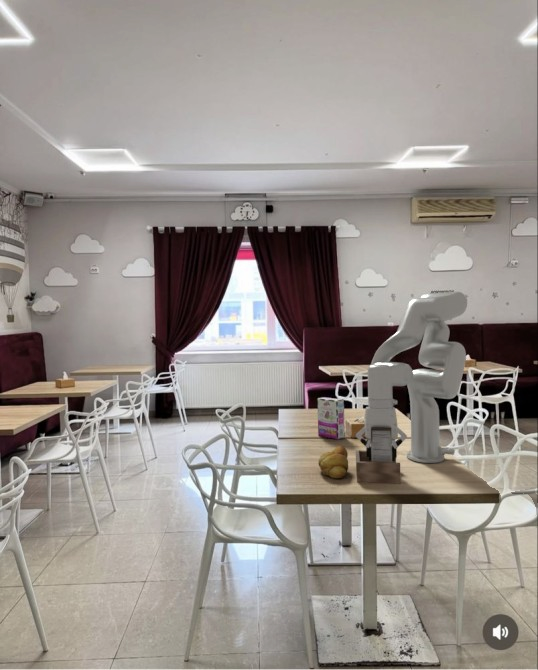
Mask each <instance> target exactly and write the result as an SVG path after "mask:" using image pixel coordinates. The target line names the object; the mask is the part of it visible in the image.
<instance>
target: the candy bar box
mask: <svg viewBox="0 0 538 670" xmlns="http://www.w3.org/2000/svg"><path fill="white" fill-rule="evenodd" d="M317 422H318V423H317V430H318V431H317V435H318V436H319V435H320V436H319V437H323V436H324V438H327V437H328V439H334V440H338V439H339V440H341V439H344V438H345V437H346V435H345V434H346V433H345V432H346V431H345V399H344V398H343V399H341V398H332V397H326V396H324V397H323V396H322V397H318V398H317Z"/></svg>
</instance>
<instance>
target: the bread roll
mask: <svg viewBox="0 0 538 670" xmlns="http://www.w3.org/2000/svg"><path fill="white" fill-rule="evenodd" d="M348 456H349V453H348V450H347V448H345V446H342V445H340V446H336V447H335V448H333V449H331V451H327V452H324V453H322V454H321V455H320V456H319V460H318V463H317V464H318V466H319V468H320V470H321V472H322V473H321V474H323V475H326V476H328V477H329V476H330V478H332V479H342V478H344V477H346V474H347V472H348V471H349V460H348Z"/></svg>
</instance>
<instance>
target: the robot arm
mask: <svg viewBox="0 0 538 670" xmlns="http://www.w3.org/2000/svg"><path fill="white" fill-rule="evenodd" d="M467 307H468V299H467V296H466V295H465V294H464V293H463V292H461V291H445V292H430V293H426V294H423V295H421V297H417V298H413V299H411V300H410V301H409V302H408V304H407V306H406V309H405V311H404V313H403V316H402V318H401V321H400V323H399V326H398V327H397V330H396V332H395V333H394V334H393V335H391V336H390V337H389V338H388V339H386V341H384V342H383V343H382V344H381V345H380V346H379V347H378V349H377V350H375V353H374V356H373V358H372V360H371V363H370V365H369V366H368V368H367V405H368V406H366V407H365V412H364V423H363V425H364V426H363V427H362V428H361V429H360V430H358V432H356V434H355V438H357V439H358V440H359V441H360V443H361V444H363V446H364V447H365V448H366V449H365V450H366V455H367V457H369V461H371V427H384V428H391V429H392V461H395V458H396V459H397V457H398V456H397V452H398V451H397V449H398V447H400V445H401V444H403V442H404V441H405V440H406V439H407V438H408V436H407V434H406V433H405V432H404V431H403V430H402V429H400V428H399V427H398V419H397V412H396V408H395V407H394V406H395V405H398V400H397V399H394V398H393V397H394V396H393V387H404V386H407V389H408V390H407V391H408V395H409V401H410V402H409V405H410V448H411V450H410V451H408V452H406V457H407V458H408V459H409V460H410V461H414V462H416V463H423V464H437V463H441V462H443V461H444V460H445V455H455V450H454V449H455V448H449V447H442V446H441V444H440V409H439V405H438V402H437V401H436V400H435V398H437V399H444V400H452V399H454V398H455V397H456V396H457V395H458V393H459V390H460V387H461V382H462V380H463V379H462V378H463V374H464V370H465V367H466V361H467V353H466V349H465V347H464V345H463V344H462V343H460V342H458V341H449V338H450V328H449V326H448V324H447V323H446V322H448V321H450V320H452V319H456V318H458V317H460V316H462V315H463V314H464V313H465V312H466V310H467ZM420 343H421V344H420ZM418 345H420V349H419V353H418V362H419V364H420V365H422V366H423V367H426V368H417V369H412V367H411V366H410V364H407V363H405V362H399V361H398V362H397V361H395V362H394V361H391V360H392V359H393V358H394V357H396V355H398V354H400V353H401V352H404V351H407V350H410V349H412V348H415V347H416V346H418ZM428 368H429V369H428ZM430 368H431V369H430ZM432 368H433V369H432ZM440 369H442V370H440ZM363 435H364V437H365V438H364V437H363ZM399 435H400V437H399V438H398V436H399Z"/></svg>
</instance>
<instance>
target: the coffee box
mask: <svg viewBox="0 0 538 670" xmlns="http://www.w3.org/2000/svg"><path fill="white" fill-rule="evenodd" d="M370 446H371V462H392V429H391V428H384V427H371V444H370Z"/></svg>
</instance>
